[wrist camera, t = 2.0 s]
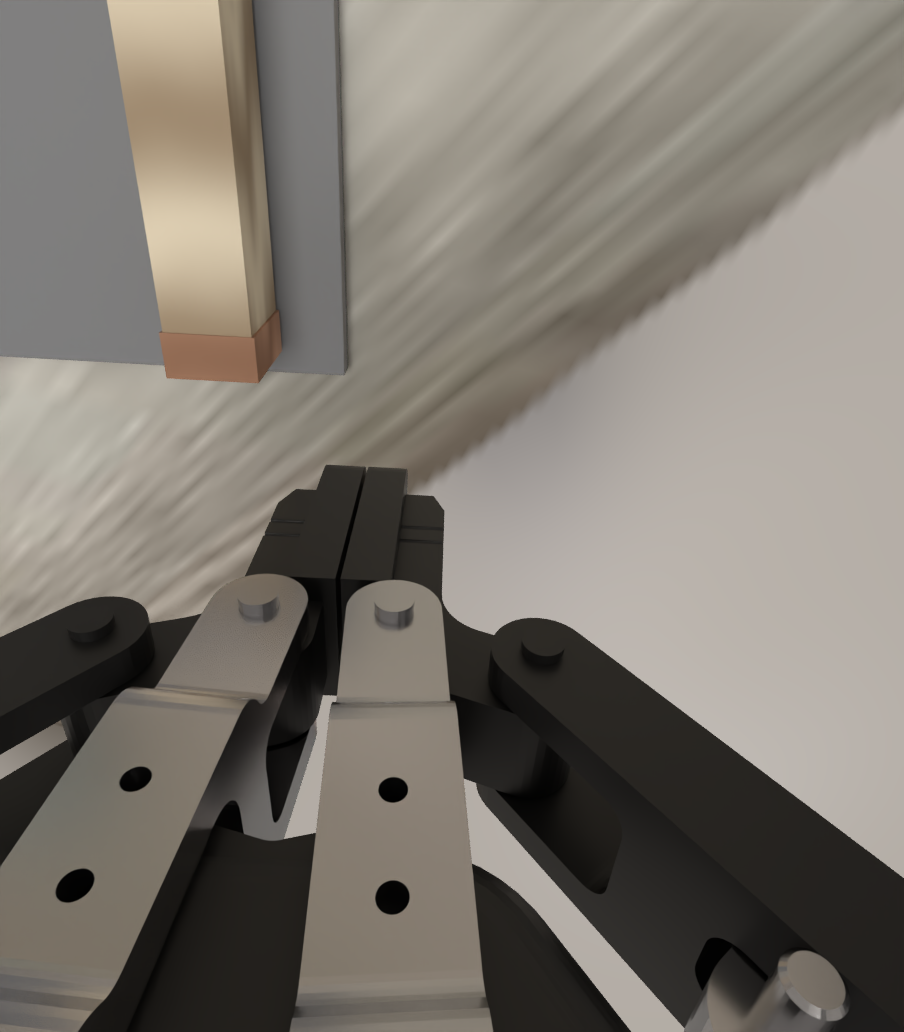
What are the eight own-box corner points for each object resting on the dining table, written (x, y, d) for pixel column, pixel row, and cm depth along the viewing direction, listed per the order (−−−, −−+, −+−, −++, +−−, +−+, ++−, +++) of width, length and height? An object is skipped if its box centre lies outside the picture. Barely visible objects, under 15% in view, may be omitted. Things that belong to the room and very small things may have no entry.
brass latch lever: (71, -412, 17) (-18, -531, 14) (248, -397, 17) (200, -514, 14) (185, 345, 27) (149, 376, 24) (297, 351, 27) (275, 384, 24)
